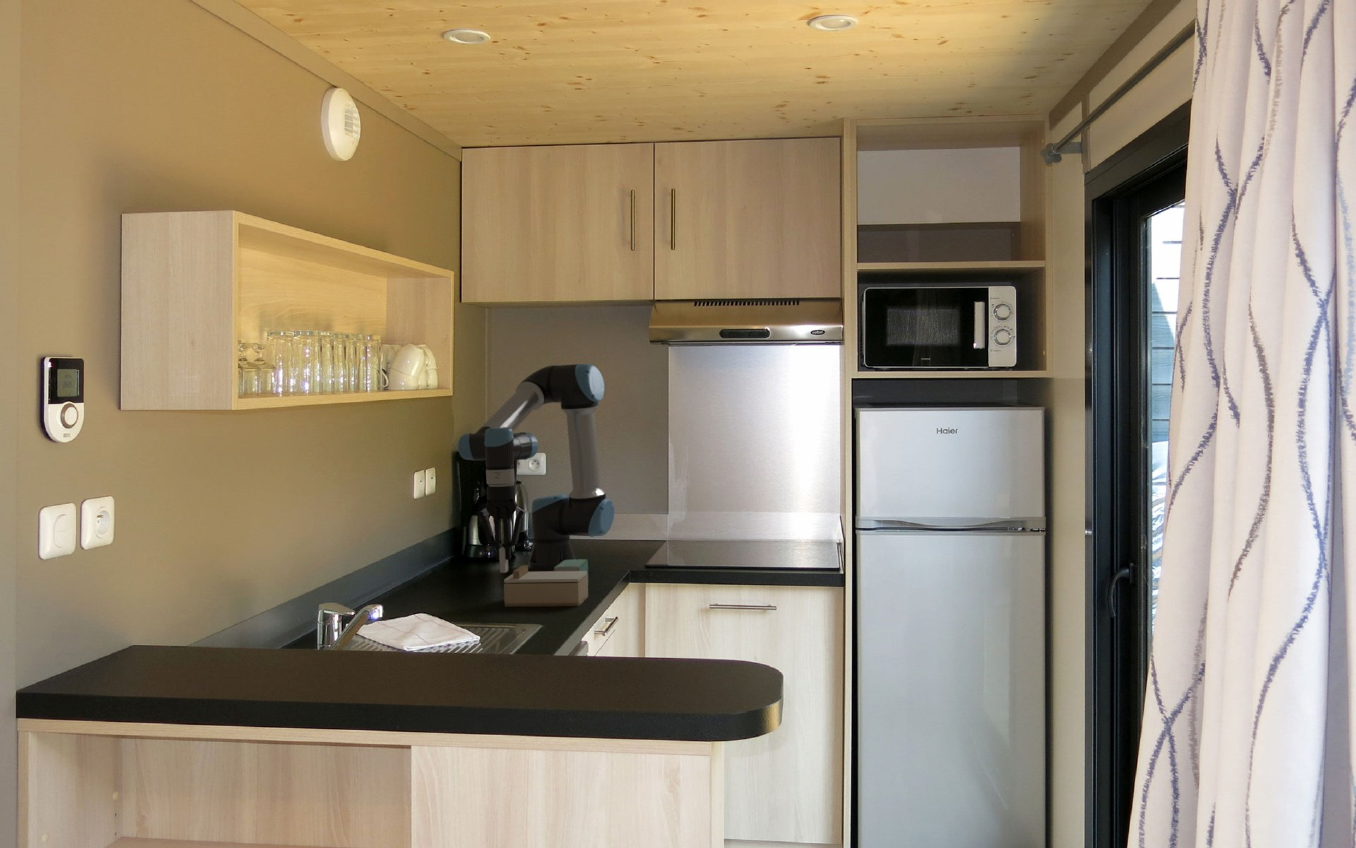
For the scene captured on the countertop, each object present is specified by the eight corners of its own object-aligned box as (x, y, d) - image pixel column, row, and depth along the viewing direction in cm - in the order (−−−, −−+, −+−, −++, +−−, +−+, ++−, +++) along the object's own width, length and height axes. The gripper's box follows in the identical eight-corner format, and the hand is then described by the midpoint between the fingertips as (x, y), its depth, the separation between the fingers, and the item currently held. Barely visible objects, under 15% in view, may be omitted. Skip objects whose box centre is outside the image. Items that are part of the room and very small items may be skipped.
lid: (515, 574, 280) (515, 564, 280) (587, 574, 278) (586, 563, 278) (504, 582, 269) (503, 572, 269) (578, 581, 267) (577, 571, 267)
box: (589, 583, 298) (588, 558, 298) (580, 593, 285) (579, 566, 284) (564, 583, 299) (563, 558, 299) (554, 593, 285) (553, 567, 285)
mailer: (517, 597, 281) (516, 575, 281) (588, 596, 279) (587, 574, 278) (504, 606, 269) (503, 584, 269) (578, 606, 267) (578, 583, 267)
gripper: (472, 486, 271) (476, 574, 272) (520, 485, 270) (523, 574, 270) (481, 484, 279) (485, 569, 279) (528, 483, 277) (531, 569, 278)
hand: (504, 571), depth 275 cm, fingers closed
